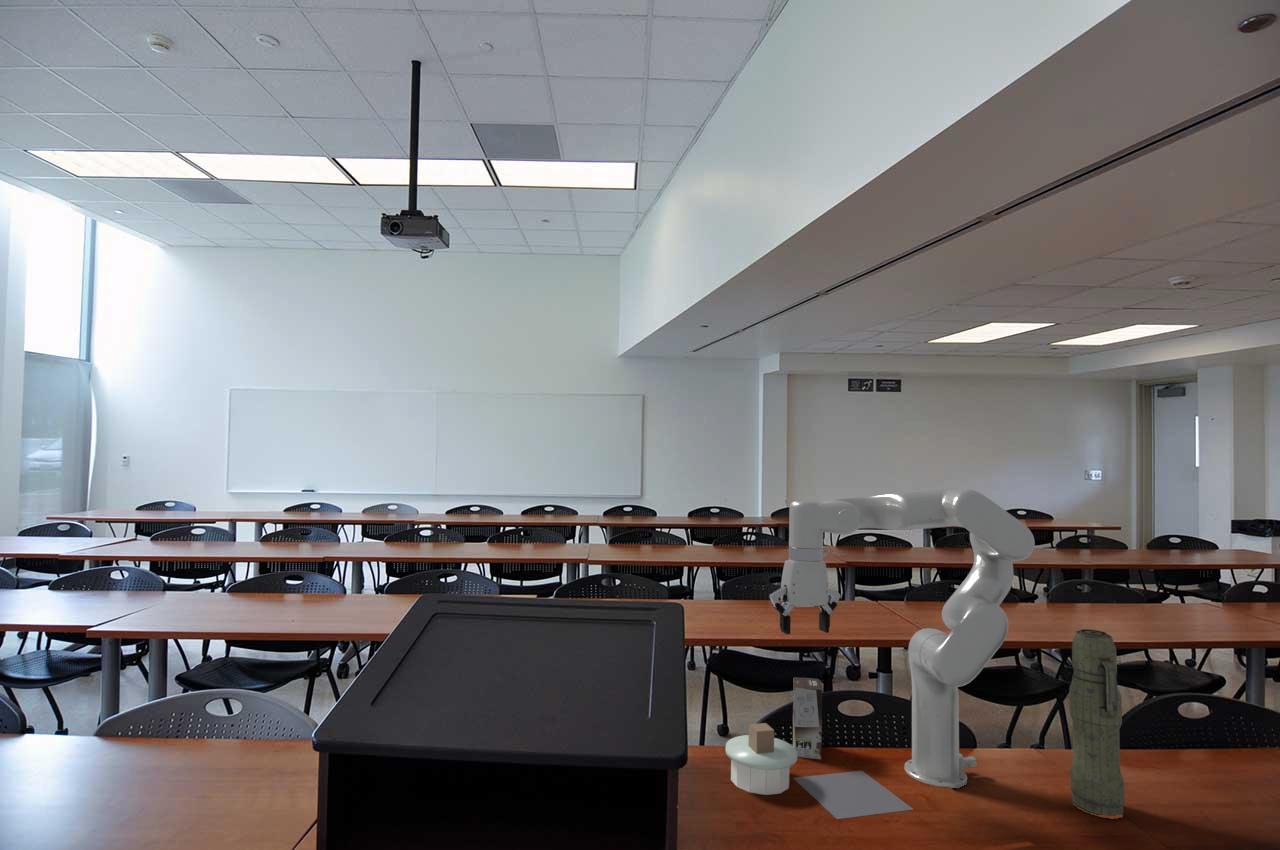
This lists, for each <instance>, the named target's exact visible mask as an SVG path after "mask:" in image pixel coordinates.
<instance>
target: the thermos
mask: <svg viewBox="0 0 1280 850" xmlns="http://www.w3.org/2000/svg"><path fill="white" fill-rule="evenodd" d="M1117 661H1118V659H1117V648H1116V645H1115V642H1114V640H1113V636H1111V635H1110V634H1108V633H1107V632H1106V631H1101V630H1096V629H1088V628H1087V629H1086V628H1085V629H1084V628H1083V629H1079V630H1076V632H1075V633H1074V637H1073V638H1072V642H1071V662H1072V664H1071V666H1072V668H1073V673H1072V676H1071V677H1072V679H1071V683H1070V685H1069V691H1068V694H1069V696H1068V697H1069V700H1068V701H1069V715H1070V717H1071V720H1072V756H1073V757H1072V759H1073V761H1072V763H1071V765H1070V791H1071V793H1072V794H1071V795H1072V796H1071V803H1072V802H1073V803H1074V804H1075V805H1076V806H1077V807H1079V808H1081V809H1083V810H1084V811H1087V812H1089V813H1093V814H1096V815H1107V816H1116V815H1124V816H1125V813H1124V804H1125V780H1124V777H1123V775H1122V773H1121V748H1120V747H1121V745H1120V741H1121V740H1120V739H1121V738H1120V729H1121V726H1122V725H1123V712H1122V711H1123V710H1122V709H1123V708H1122V707H1123V706H1122V696H1121V693H1120V690H1119V687H1118V680H1117V677H1118V676H1117V675H1118V665H1117V664H1118V662H1117Z"/></svg>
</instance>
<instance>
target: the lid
mask: <svg viewBox="0 0 1280 850" xmlns="http://www.w3.org/2000/svg"><path fill="white" fill-rule="evenodd" d="M725 754H726V756H727V757H728V758H729V759H730V761H731V760H733V761H734V762H736V763H738V764H741V765H743V766H747V767H750V768H755V769H762V770H778V769H784V768H788V767H789V768H790V767H792V766H794V765H795V764H796V763H797V762H798V761H797V760H798V757H797V751H796V749H795V748H794V747H793V744H791V743H788V741H785V740H782V739H780V738H777V737H775V730H774V729H773V728H772V727H771V726H770V725H769V724H768V723H766V722H764V723H763V722H762V723H749V724H748V734H745V735H743V734H742V735H738V736H735V737H732V738H731V739H728V740H727V742H726V743H725Z"/></svg>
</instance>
